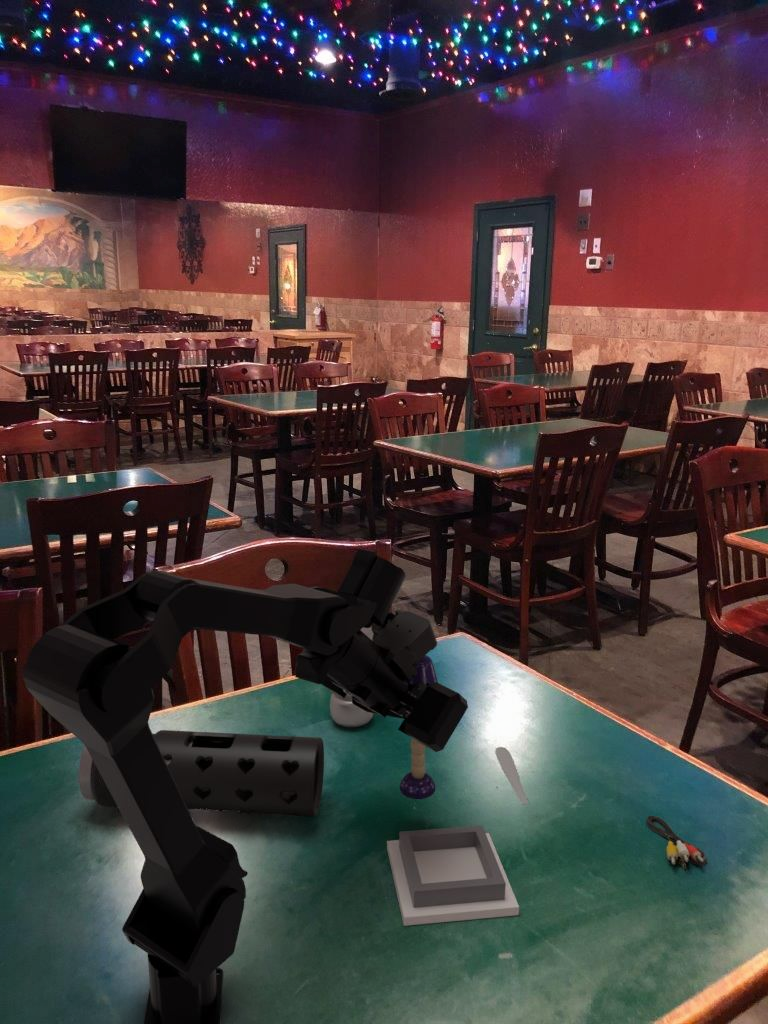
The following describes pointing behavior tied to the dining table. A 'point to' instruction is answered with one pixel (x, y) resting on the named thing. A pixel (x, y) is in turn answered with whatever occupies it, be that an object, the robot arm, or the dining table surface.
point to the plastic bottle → (349, 705)
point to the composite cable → (677, 845)
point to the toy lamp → (419, 744)
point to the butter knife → (511, 772)
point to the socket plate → (449, 876)
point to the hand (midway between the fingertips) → (426, 722)
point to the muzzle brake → (232, 772)
